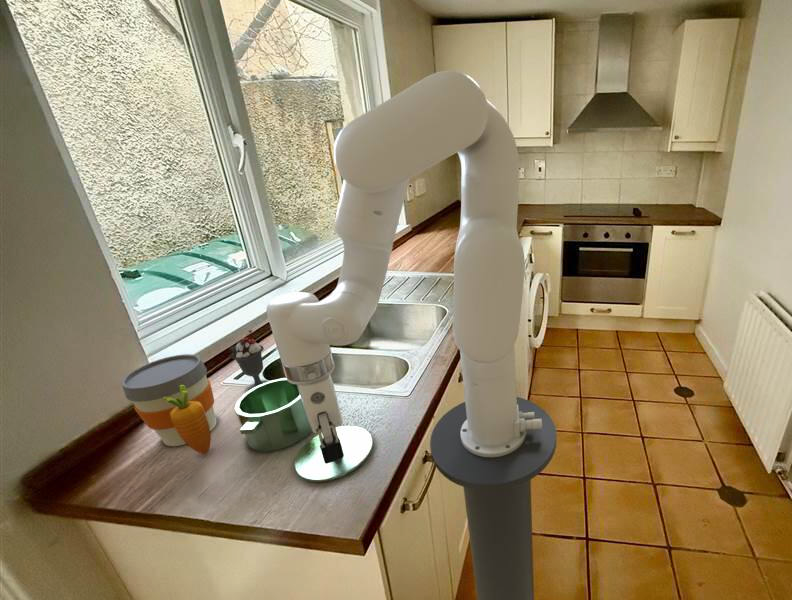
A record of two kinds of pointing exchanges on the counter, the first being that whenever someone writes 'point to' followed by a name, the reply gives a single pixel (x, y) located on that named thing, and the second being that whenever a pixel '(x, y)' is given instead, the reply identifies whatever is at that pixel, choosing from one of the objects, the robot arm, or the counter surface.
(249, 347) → the sundae
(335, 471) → the lid
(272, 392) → the pot
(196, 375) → the reusable coffee cup
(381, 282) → the robot arm
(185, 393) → the carrot
